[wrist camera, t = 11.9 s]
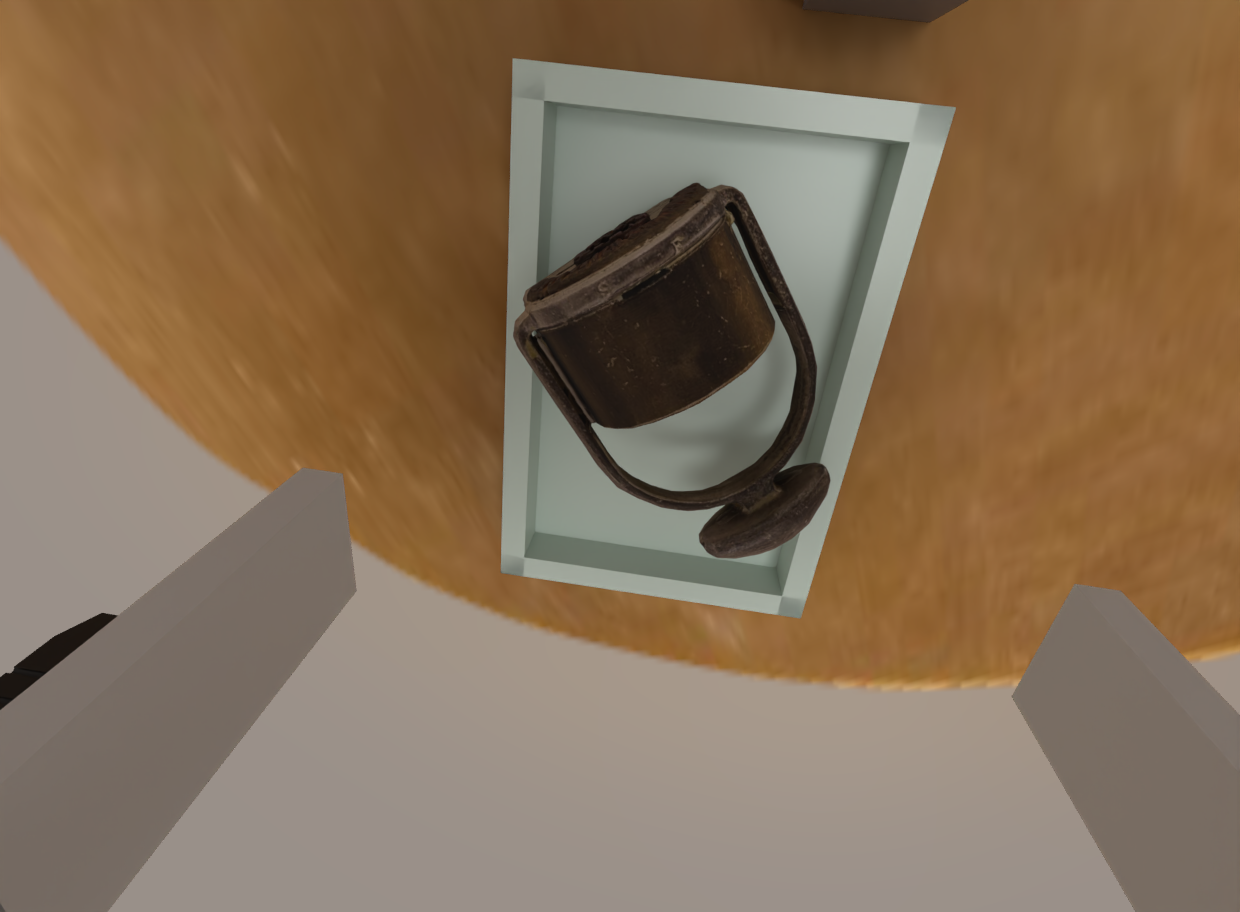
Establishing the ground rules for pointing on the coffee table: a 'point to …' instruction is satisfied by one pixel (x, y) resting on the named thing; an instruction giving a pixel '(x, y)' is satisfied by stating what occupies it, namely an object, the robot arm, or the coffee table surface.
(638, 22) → the coffee table surface
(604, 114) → the sage tray
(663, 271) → the brown alarm clock
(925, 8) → the block
